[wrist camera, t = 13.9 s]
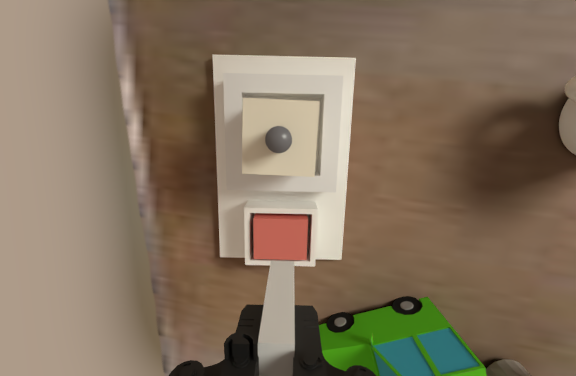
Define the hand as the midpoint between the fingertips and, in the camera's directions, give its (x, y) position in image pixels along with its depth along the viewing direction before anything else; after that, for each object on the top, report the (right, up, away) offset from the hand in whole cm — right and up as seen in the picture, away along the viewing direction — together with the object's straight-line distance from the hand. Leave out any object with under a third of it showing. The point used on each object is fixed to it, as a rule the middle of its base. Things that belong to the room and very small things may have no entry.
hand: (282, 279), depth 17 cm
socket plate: (0, +8, +10) cm, 13 cm away
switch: (0, +2, +9) cm, 10 cm away
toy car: (+10, -11, +15) cm, 21 cm away
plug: (0, +11, +8) cm, 14 cm away
